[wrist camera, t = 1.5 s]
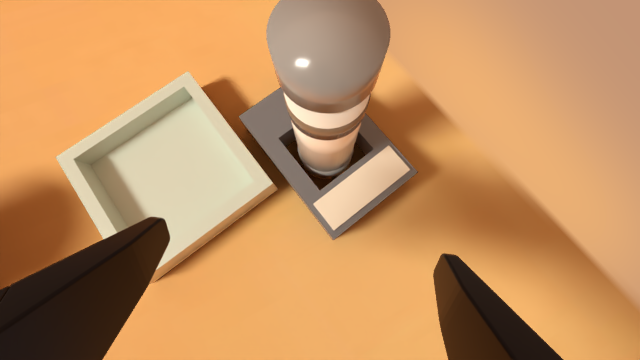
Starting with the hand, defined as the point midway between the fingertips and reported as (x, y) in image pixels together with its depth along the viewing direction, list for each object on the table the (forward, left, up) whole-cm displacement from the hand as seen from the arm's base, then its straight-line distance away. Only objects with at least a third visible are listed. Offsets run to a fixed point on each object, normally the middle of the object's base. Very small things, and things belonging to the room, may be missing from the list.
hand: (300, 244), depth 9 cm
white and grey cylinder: (+5, -5, -13) cm, 15 cm away
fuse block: (+5, -5, -13) cm, 15 cm away
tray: (+11, +6, -13) cm, 18 cm away
